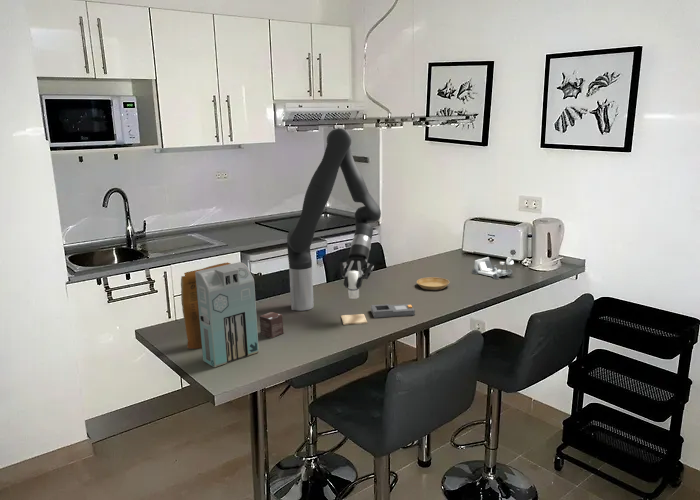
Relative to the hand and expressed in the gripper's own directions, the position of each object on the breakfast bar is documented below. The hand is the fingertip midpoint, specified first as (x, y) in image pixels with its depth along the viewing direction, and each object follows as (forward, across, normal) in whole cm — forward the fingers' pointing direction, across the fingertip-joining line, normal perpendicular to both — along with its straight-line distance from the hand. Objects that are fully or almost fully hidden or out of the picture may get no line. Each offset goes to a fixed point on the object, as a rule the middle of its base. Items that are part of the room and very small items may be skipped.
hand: (351, 287), depth 210 cm
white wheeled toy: (-45, +46, +67) cm, 93 cm away
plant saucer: (-27, +21, +48) cm, 59 cm away
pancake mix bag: (+33, -41, -14) cm, 55 cm away
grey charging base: (+1, +12, +19) cm, 23 cm away
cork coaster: (+8, 0, +11) cm, 14 cm away
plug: (+2, 0, +5) cm, 5 cm away
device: (+39, -29, -20) cm, 52 cm away
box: (+23, -24, -4) cm, 34 cm away
